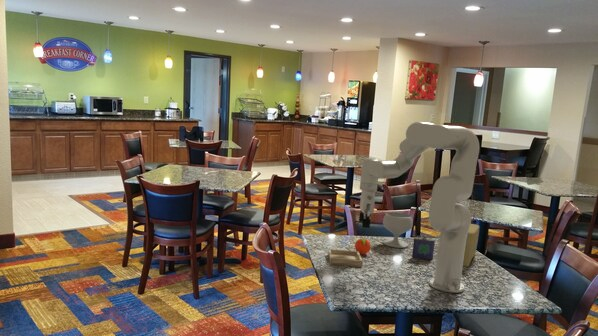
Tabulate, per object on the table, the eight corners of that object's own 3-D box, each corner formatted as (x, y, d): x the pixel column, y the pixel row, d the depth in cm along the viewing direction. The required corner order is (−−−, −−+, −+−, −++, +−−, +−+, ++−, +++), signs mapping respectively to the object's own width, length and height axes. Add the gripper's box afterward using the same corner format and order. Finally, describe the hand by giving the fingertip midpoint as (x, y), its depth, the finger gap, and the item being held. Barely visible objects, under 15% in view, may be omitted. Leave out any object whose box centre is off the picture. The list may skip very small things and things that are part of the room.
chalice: (405, 251, 217) (408, 219, 215) (376, 244, 224) (379, 214, 222) (413, 244, 229) (417, 214, 227) (386, 238, 236) (389, 209, 234)
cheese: (478, 269, 199) (482, 235, 197) (454, 265, 202) (458, 231, 200) (475, 255, 220) (479, 224, 218) (454, 251, 223) (457, 221, 221)
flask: (432, 258, 209) (434, 235, 208) (433, 260, 206) (436, 237, 205) (411, 256, 209) (413, 233, 208) (412, 258, 207) (415, 235, 205)
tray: (362, 267, 190) (362, 261, 190) (330, 264, 190) (330, 258, 189) (357, 256, 203) (358, 251, 203) (328, 254, 203) (328, 249, 202)
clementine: (371, 257, 203) (372, 241, 202) (355, 256, 203) (356, 240, 203) (368, 252, 211) (370, 236, 210) (353, 250, 211) (354, 235, 210)
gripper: (380, 191, 195) (375, 230, 198) (373, 183, 212) (369, 220, 215) (362, 189, 195) (358, 229, 197) (357, 182, 212) (353, 218, 215)
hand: (364, 224), depth 206 cm, fingers open, 9 cm apart
